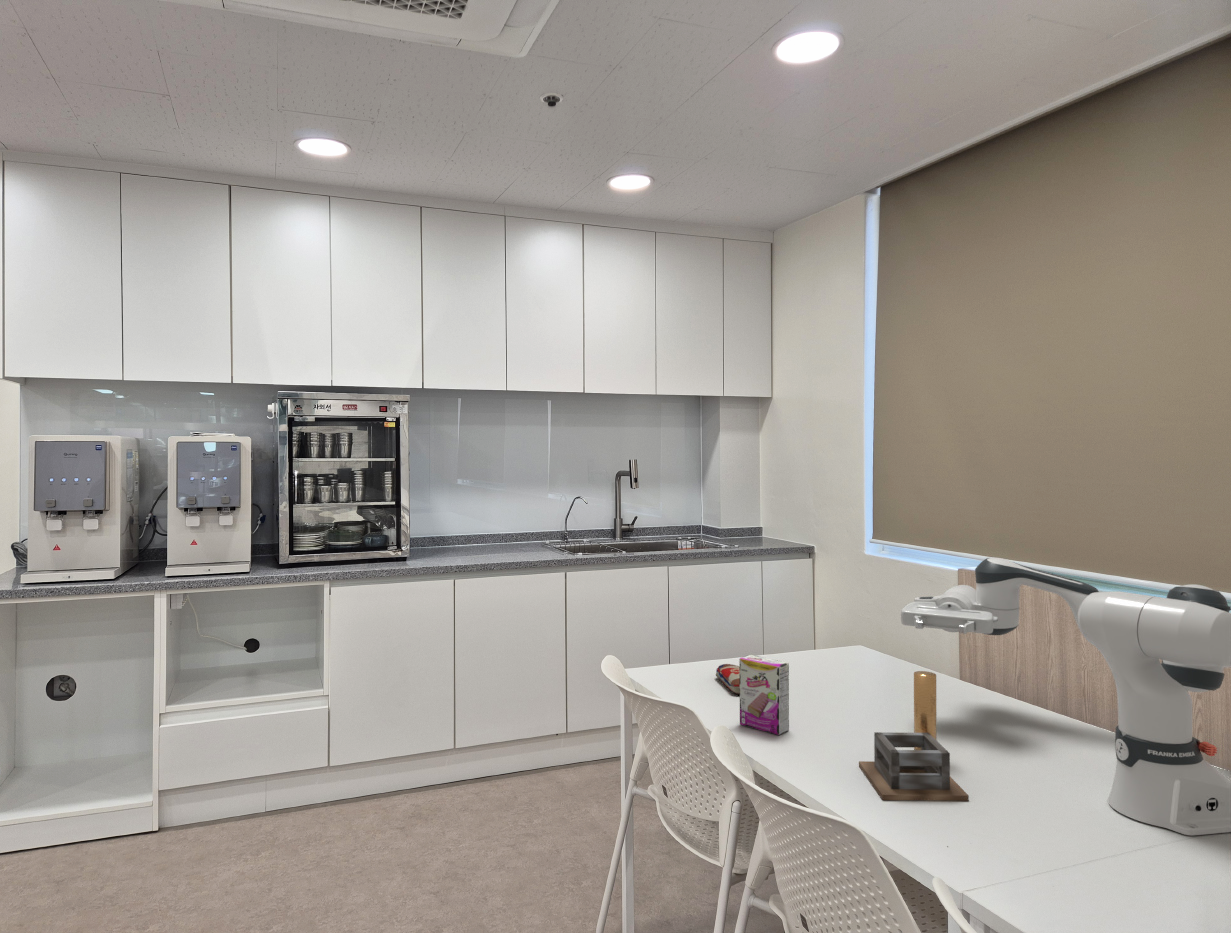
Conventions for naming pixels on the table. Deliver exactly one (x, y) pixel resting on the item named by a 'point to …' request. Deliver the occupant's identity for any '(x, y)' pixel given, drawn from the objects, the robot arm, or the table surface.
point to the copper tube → (925, 703)
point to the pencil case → (729, 676)
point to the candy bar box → (764, 694)
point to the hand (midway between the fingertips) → (940, 627)
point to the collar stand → (911, 769)
